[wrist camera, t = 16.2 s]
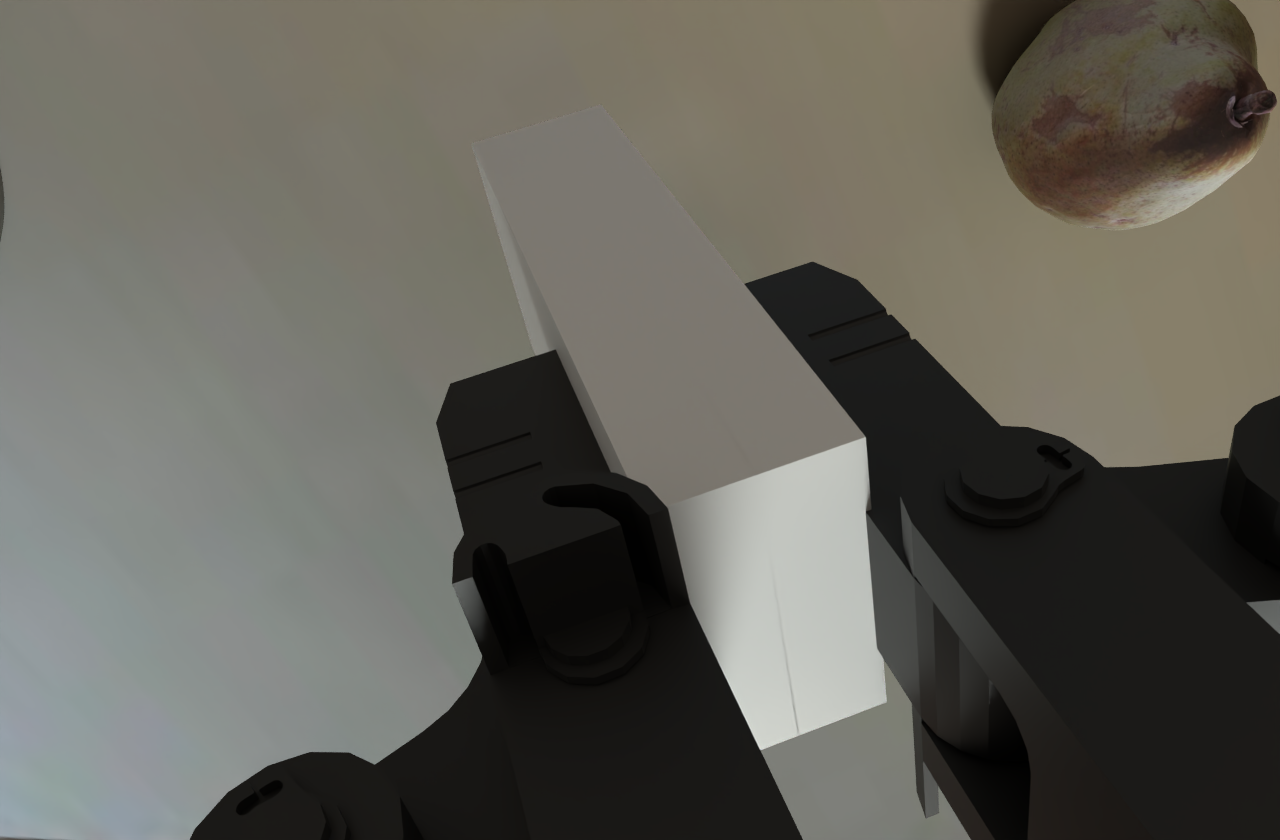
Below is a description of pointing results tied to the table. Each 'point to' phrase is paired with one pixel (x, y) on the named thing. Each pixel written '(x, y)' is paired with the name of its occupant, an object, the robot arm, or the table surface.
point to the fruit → (1132, 109)
